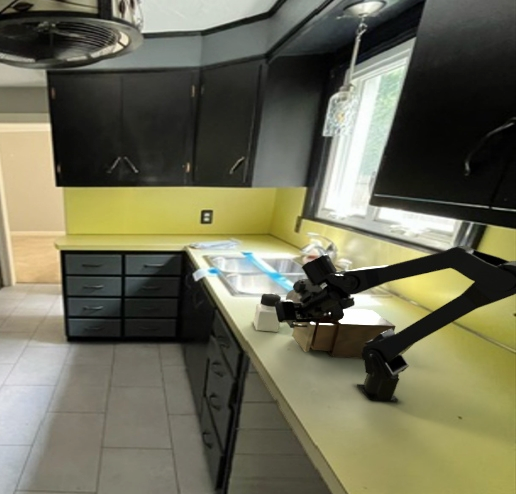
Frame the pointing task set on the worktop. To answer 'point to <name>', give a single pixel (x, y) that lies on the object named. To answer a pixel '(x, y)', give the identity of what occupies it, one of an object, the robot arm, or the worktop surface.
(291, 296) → the pipe fitting
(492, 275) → the robot arm
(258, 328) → the medicine bottle
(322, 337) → the drawer
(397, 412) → the worktop surface
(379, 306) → the worktop surface
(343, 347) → the cabinet
